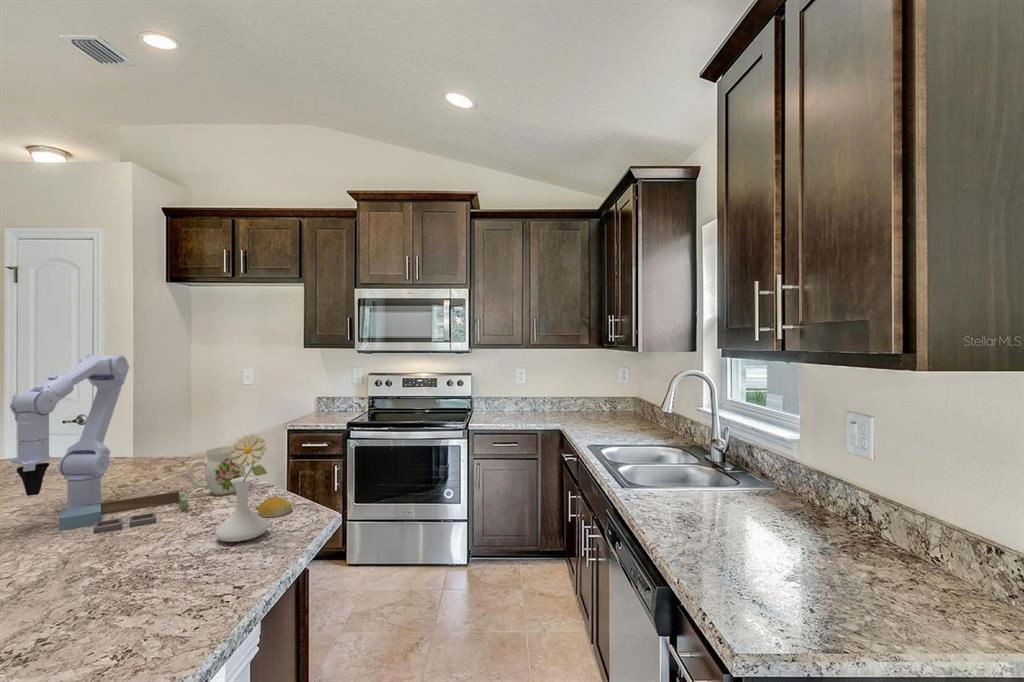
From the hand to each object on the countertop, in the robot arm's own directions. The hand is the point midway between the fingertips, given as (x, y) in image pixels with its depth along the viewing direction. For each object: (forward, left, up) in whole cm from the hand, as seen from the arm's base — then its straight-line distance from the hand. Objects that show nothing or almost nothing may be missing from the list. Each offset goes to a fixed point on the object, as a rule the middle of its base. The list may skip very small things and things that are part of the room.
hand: (33, 494), depth 126 cm
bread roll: (+21, +51, -9) cm, 56 cm away
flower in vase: (+36, +41, -9) cm, 56 cm away
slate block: (0, +9, -9) cm, 13 cm away
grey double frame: (+9, +18, -9) cm, 22 cm away
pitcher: (-9, +42, -9) cm, 44 cm away
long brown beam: (0, +21, -9) cm, 23 cm away
